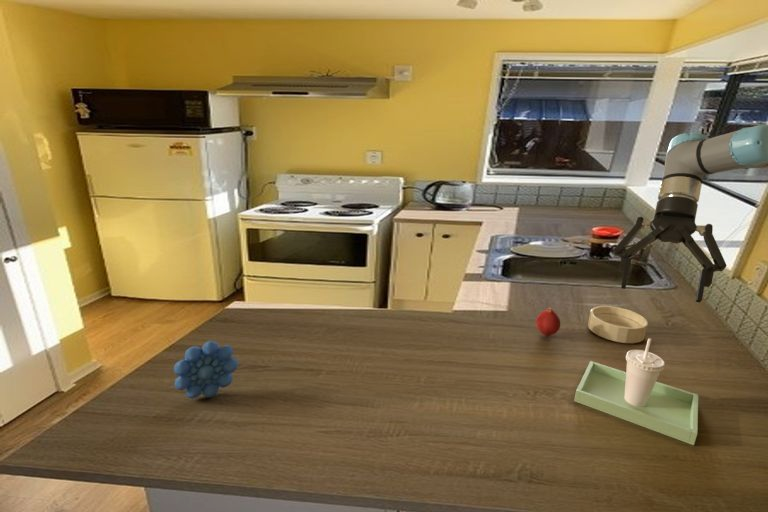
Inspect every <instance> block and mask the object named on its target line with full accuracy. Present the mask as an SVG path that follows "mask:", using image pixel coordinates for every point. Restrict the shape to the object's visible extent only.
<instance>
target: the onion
mask: <svg viewBox="0 0 768 512" xmlns="http://www.w3.org/2000/svg"><path fill="white" fill-rule="evenodd" d="M535 327H536V330H538V331H539V332H540V334H541V335H542V336H543V337H547V338H548V337H550V336H554V335H555V334H556V333H557V332H558V331H559V330H560V328H561V320H560V317H559V315H558V314H557V313H556V312H555V311H554V309H552V308H551V307H548V308H546V310H543V311H541V312H540V313H539V314H538V316H537V317H536V320H535Z"/></svg>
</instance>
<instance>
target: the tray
mask: <svg viewBox="0 0 768 512" xmlns="http://www.w3.org/2000/svg"><path fill="white" fill-rule="evenodd" d="M625 382H626V371H624V370H621V369H618V368H615V367H611V366H609V365H604V364H602V363H599V362H595V361H592V360H590V361H589V362H588V365H587V367H586V370H585V371H584V374H583V376H582V378H581V380H580V382H579V384H578V385H577V387H576V390H575V393H574V394H575V395H574V399H573V402H575V403H578V404H581V405H583V406H586V407H588V408H591V409H593V410H597V411H600V412H601V413H605V414H608V415H610V416H613V417H616V418H618V419H622V420H623V421H627V422H630V423H632V424H635V425H637V426H640V427H643V428H646V429H648V430H651V431H654V432H656V433H658V434H662V435H664V436H667V437H669V438H673V439H676V440H678V441H681V442H683V443H686V444H689V445H691V446H695V444H696V440H697V437H698V430H699V429H698V428H699V427H698V426H699V394H698V393H693V392H691V391H688V390H685V389H681V388H678V387H675V386H672V385H669V384H665V383H662V382H660V381H656V383H655V385H654V387H653V389H652V391H651V394H650V396H649V398H648V400H647V403H646V405H645V406H643V407H637V406H633V405H631V404H629V403H628V402H626V401H625V399H624V395H625Z"/></svg>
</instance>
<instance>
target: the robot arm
mask: <svg viewBox="0 0 768 512" xmlns="http://www.w3.org/2000/svg"><path fill="white" fill-rule="evenodd" d="M664 158H665V160H664V166H663V173H662V178H661V182H660V185H659V192H658V196H657V199H658V200H657V202H656V205H655V211H654V215H653V218H652V219H651V220H649V219H645V218H644V217H643V216H638V217H637V219H636V222H635V224H634V226H633V227H632V228H631V229H630V230H629V231H628V233H627V234H626V235H625V236H624V237H623V239H621V240H620V242H619V243H618V244H617V245H616V246H615V247H614V248H613V255H614V256H615V257H618V258H620V262H619V267H618V272H619V273H621V274H623V276H622V281H621V289H624V290H626V288H627V282H628V277H629V273H630V268H631V263H632V257H633V256H634V255H636V254H637V253H639V252H640V251H642V250H643V249H645V248H646V247H647V246H649V245H650V244H652V243H654V242H656V241H657V240H659V241H660V242H662V243H672V244H675V245H678V244H680V243H682V244H683V245H684V246H685V247H686V248H687V249H688V251H689V252H690V253H691V254H692V256H693V257H694V258H695V259H696V261H697V262H698V263H699V264H700V265H701V267H702V269H701V271H700V275H699V281H698V286H697V292H696V297H695V302H696V303H701V302H702V301H703V297H704V290H705V288H710V287H711V285H712V283H713V279H714V273H715V272H716V273H717V272H724V270H726V268H727V262H726V261H725V258H724V257H723V254H722V252H721V250H720V247H719V245H718V243H717V241H716V239H715V235H714V234H713V231H714V230H713V227H714V226H713V224H711V223H707V224H705V225H697V224H696V217H697V211H698V206H699V204H698V203H699V201H700V196H701V190H702V184H703V180H704V176H708V175H714V174H717V173H723V172H728V171H733V170H742V169H743V170H745V169H764V168H767V169H768V124H759V125H754V126H749V127H747V126H746V127H742V128H741V129H738V130H735V131H731V132H729V133H725V134H719V135H717V136H713V137H710V138H708V136H707V135H706V134H703V133H701V132H690V133H687V132H684V133H680V134H677V135H675V136H674V137H673V138H672V139H671V140H670V142H669V144H668V148H667V152H666V154H665V157H664ZM647 227H649V228H650V229H651V232H649V233H648V234H647V235H646V236H644V237H643V238H642V239H640V240H639V241H637V242H635V244H633V245H631V246H630V247H629V248H628V249H626V248H627V247H628V246H629V245H630V243H631V242H632V241H633V240H634V239H635V238H636V237H637V235H639V233H640V232H641V230H645V229H646V228H647ZM696 232H697V233H698V234H699V236H701V237H703V242H704V243H705V246H706V248H707V250H708V252H709V255H710V257H711V259H712V261H713V262H712V261H711V259H710V258H709V257H708V256H707V254H706V253H705V252H704V250H702V248H701V247H700V246H699V244H698V243H697V242H696V240H695V239H694V238H693V236H692V235H693V234H694V233H696ZM625 249H626V250H625Z"/></svg>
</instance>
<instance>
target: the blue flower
mask: <svg viewBox="0 0 768 512" xmlns="http://www.w3.org/2000/svg"><path fill="white" fill-rule="evenodd" d="M233 353H234V349H233V347H232V346H231V345H228V344H225V345H221V346H219V343H218V342H217V341H216V340H208V341H206V342H205V343H204V344H203V345H202V347H201V348H200V347H199V346H198V345H194V346H191V347H189V348H188V349H186V351H185V353H184V358H183V359H181V360H178V361H177V362H176V363H175V364H174V366H173V372H174V374H175V375H176V376H177V377H176V378H175V380H174V388H175V389H176V390H179V391H184V390H185V396H186V397H187V398H188V399H193V400H194V399H197V398H198V397H200V396H201V394H202V395H203V396H204V397H205V398H213V397H215V396H217V393H218V392H219V390H220V388H227V387H229V386H230V385H231V384H232V382H233V379H234V377H233V376H234V375H233V373H234V372H236V370H237V369H238V368H239V360H238V359H237V358H235V357H232V356H233Z"/></svg>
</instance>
